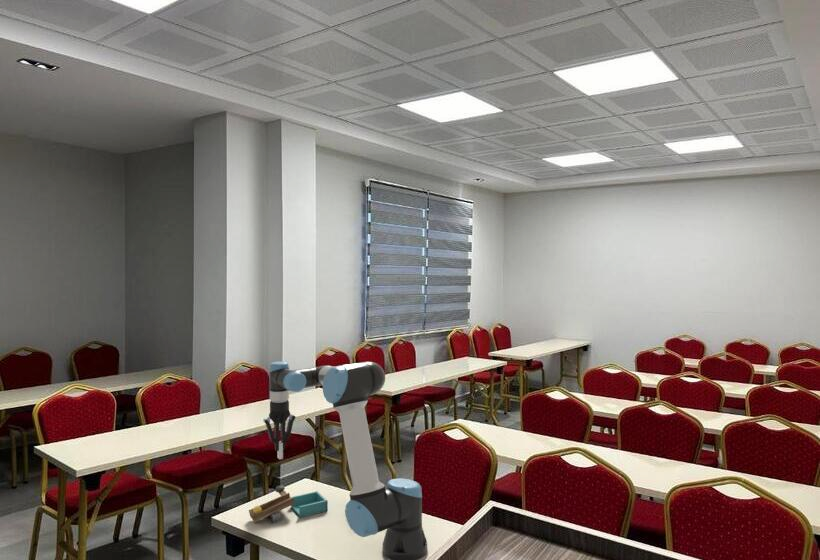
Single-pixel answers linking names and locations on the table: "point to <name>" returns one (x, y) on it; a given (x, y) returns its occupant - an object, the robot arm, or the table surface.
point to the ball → (257, 509)
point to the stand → (274, 517)
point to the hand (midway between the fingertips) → (280, 458)
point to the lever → (273, 504)
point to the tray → (309, 504)
